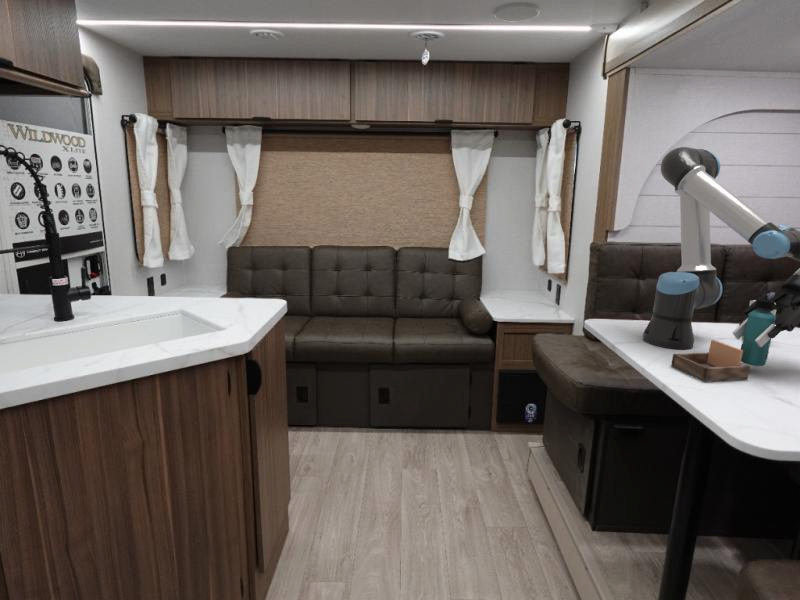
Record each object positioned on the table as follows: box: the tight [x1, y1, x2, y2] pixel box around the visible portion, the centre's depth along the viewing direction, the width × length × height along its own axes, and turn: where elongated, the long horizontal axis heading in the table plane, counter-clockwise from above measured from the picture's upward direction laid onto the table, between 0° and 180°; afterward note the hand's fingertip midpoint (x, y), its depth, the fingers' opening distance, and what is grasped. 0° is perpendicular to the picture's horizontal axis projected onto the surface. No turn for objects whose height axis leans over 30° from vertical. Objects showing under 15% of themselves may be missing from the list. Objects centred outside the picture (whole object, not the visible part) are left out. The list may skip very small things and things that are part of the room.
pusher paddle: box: [707, 339, 743, 367], centre depth 137 cm, size 1×9×7 cm, turn 13°
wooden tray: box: [670, 351, 751, 383], centre depth 137 cm, size 14×12×4 cm
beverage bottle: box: [740, 298, 777, 367], centre depth 138 cm, size 6×7×20 cm
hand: (746, 339), depth 137 cm, fingers closed on beverage bottle, 6 cm apart
